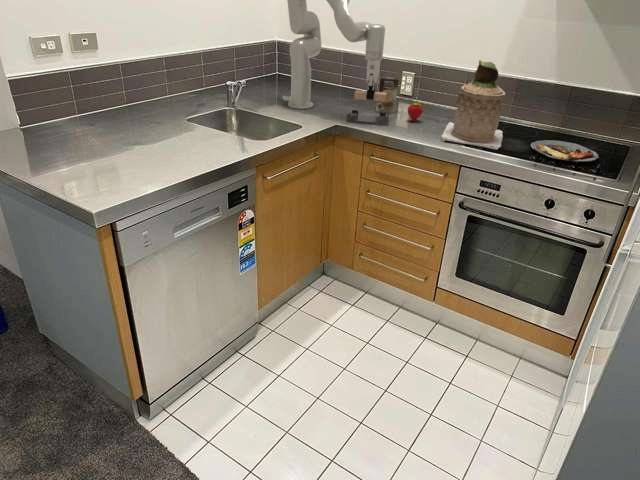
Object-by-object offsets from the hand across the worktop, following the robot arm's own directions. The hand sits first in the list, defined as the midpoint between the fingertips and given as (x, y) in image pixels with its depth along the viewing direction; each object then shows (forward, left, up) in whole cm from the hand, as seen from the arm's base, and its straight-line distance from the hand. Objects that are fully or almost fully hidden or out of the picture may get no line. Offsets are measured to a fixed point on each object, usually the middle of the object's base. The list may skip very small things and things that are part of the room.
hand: (370, 97), depth 220 cm
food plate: (+81, -22, -11) cm, 84 cm away
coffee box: (+7, +20, -11) cm, 24 cm away
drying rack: (0, 0, -11) cm, 11 cm away
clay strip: (0, 0, -1) cm, 1 cm away
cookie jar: (+46, -11, -11) cm, 48 cm away
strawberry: (+21, +6, -11) cm, 24 cm away
